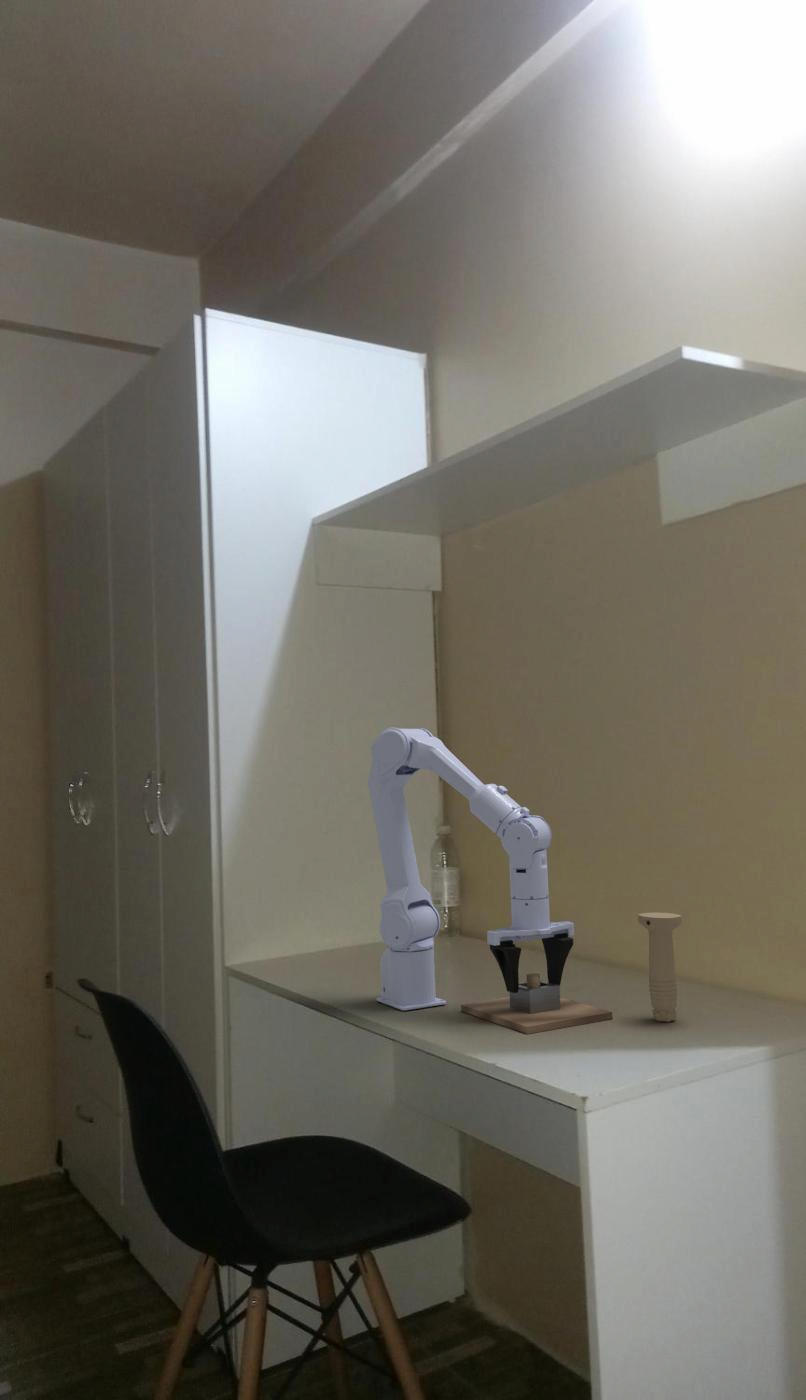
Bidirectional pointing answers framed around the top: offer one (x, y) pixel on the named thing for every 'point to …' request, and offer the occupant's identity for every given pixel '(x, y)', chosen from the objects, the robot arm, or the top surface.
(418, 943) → the robot arm
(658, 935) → the handle
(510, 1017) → the board
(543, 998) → the collar
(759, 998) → the top surface
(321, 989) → the top surface
